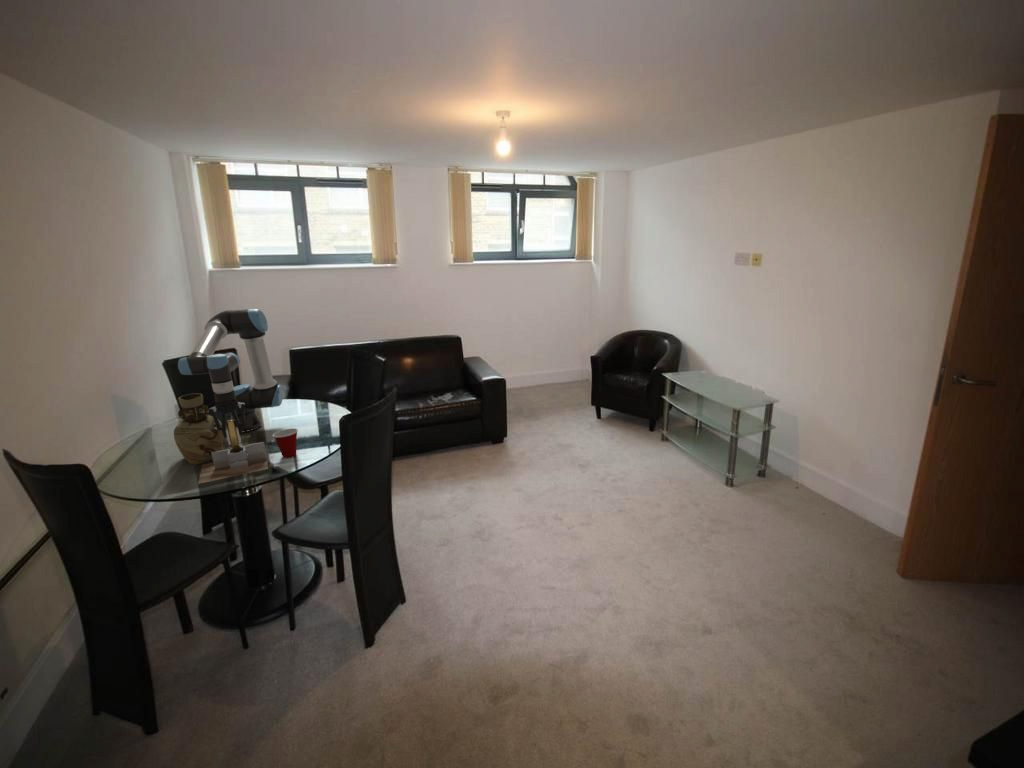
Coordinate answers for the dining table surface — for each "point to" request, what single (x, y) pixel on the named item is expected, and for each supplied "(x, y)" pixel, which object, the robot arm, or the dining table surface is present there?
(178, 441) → the ceramic vessel
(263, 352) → the robot arm
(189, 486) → the dining table surface
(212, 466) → the board
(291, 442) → the plastic cup
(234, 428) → the pin
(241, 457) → the flanged square frame
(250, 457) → the fixed leaf
